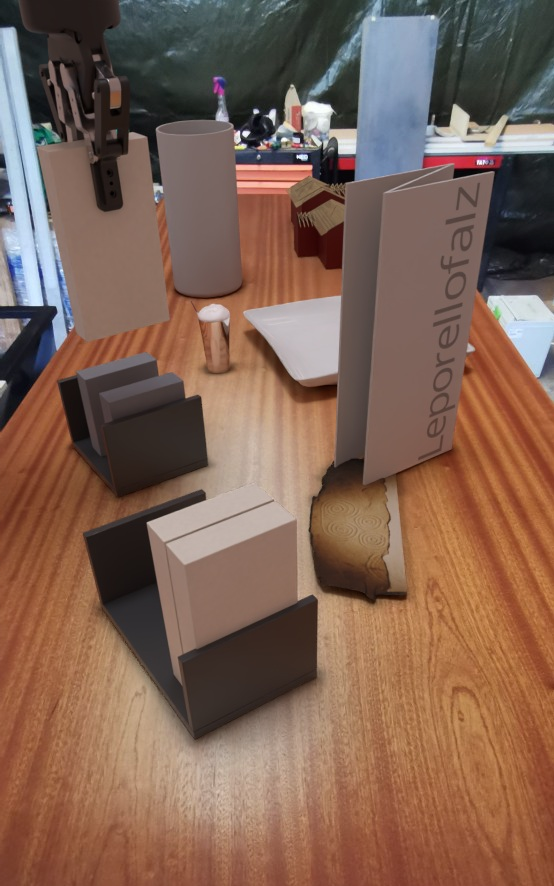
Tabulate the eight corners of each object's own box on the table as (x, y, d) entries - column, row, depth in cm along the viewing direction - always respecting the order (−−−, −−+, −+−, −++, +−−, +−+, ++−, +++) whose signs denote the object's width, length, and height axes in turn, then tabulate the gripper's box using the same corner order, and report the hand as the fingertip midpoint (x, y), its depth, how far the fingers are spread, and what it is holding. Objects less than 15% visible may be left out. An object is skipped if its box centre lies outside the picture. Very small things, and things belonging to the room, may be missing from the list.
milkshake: (199, 362, 111) (192, 294, 105) (234, 362, 111) (230, 294, 104) (196, 375, 108) (188, 306, 101) (232, 375, 108) (227, 306, 101)
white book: (87, 342, 71) (48, 151, 60) (76, 333, 73) (36, 146, 62) (170, 320, 74) (147, 136, 64) (157, 312, 76) (133, 131, 65)
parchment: (407, 601, 70) (408, 594, 69) (304, 596, 71) (304, 590, 70) (395, 466, 89) (396, 459, 88) (314, 463, 89) (314, 456, 88)
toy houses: (278, 221, 165) (277, 169, 158) (368, 214, 167) (370, 163, 160) (316, 291, 132) (316, 230, 125) (427, 282, 134) (433, 221, 127)
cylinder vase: (166, 297, 132) (145, 135, 115) (184, 274, 141) (168, 119, 124) (234, 300, 130) (223, 135, 113) (248, 276, 139) (240, 120, 122)
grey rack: (117, 497, 85) (99, 410, 77) (72, 446, 94) (52, 364, 86) (208, 465, 90) (199, 380, 82) (157, 419, 98) (145, 339, 91)
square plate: (475, 373, 106) (479, 347, 103) (295, 405, 100) (295, 378, 98) (396, 307, 125) (398, 283, 123) (242, 331, 120) (240, 307, 117)
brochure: (364, 486, 84) (385, 193, 65) (333, 467, 88) (344, 183, 68) (451, 449, 91) (494, 171, 71) (419, 432, 94) (452, 163, 75)
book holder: (194, 740, 59) (167, 578, 48) (101, 607, 71) (61, 453, 60) (317, 676, 64) (319, 515, 52) (210, 562, 76) (192, 411, 64)
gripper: (-19, -49, 57) (35, 197, 69) (45, -50, 49) (95, 231, 60) (71, -53, 60) (109, 183, 72) (147, -54, 52) (176, 215, 63)
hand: (103, 204), depth 66 cm, fingers closed on white book, 3 cm apart
